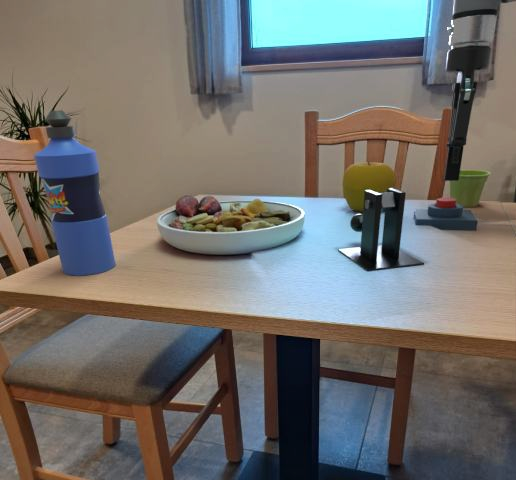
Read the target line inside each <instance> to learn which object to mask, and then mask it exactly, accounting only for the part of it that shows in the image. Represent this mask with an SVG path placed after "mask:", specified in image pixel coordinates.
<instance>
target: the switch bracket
mask: <svg viewBox="0 0 516 480" xmlns="http://www.w3.org/2000/svg"><path fill="white" fill-rule="evenodd" d="M387 192H393V196H394V203H395V207H394V208H392V209H391V210H390V211H388V212H387V213H384V217H383V218H384V219H383V227H382V229H383V230H382V238H381V239H382V240H381V244H379V237H380V226H381V214H382V213H381V205H382V194H380V193H377V192H374V191H371V190H365V193H364V207H363V212H362V214H363V221H362V231H361V234H360V235H361V237H360V246H358V247H349V248H347V247H346V248H339V249H337V251H338V252H339V253H340V254H342V255H343V256H344V257H346V258H347V259H349V260H350V261H351V262H353V263H354V264H356V265H357V266H358V267H360V268H361V269H363V270H364V271H366V272H374V271H375V272H376V271H383V270H385V271H386V270H392V269H393V270H394V269H401V268H410V267H417V266H418V267H419V266H425V262H423V261H421V260H419V259H417V258H416V257H414V256H412V255H410V254H408V253H406V252H405V251H402V250H401V249H400V248H401V239H402V230H403V221H404V212H405V204H406V194H407V193H406V191H402V190H399V189H397V188H394V189H393V188H389V189H387Z"/></svg>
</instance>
